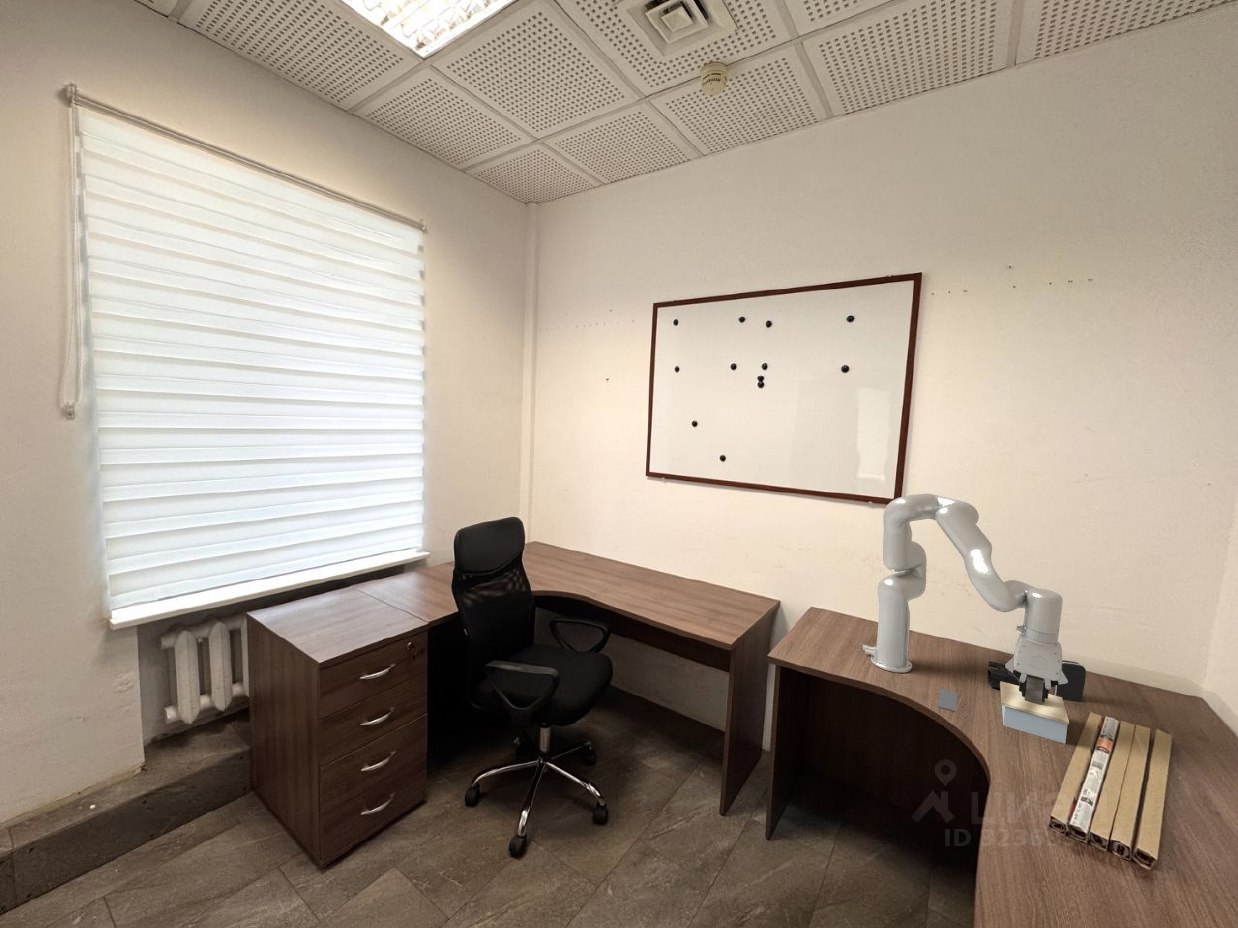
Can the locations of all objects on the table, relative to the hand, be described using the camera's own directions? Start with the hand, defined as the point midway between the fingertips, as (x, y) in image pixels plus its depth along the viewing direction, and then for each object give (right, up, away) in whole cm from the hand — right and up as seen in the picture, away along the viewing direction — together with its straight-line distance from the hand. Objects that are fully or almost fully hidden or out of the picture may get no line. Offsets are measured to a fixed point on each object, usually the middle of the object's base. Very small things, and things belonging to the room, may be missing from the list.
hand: (1032, 696), depth 141 cm
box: (0, -8, +1) cm, 8 cm away
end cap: (+7, -7, +20) cm, 22 cm away
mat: (-14, -7, +10) cm, 19 cm away
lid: (0, -2, 0) cm, 2 cm away
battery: (+23, -7, +15) cm, 28 cm away
